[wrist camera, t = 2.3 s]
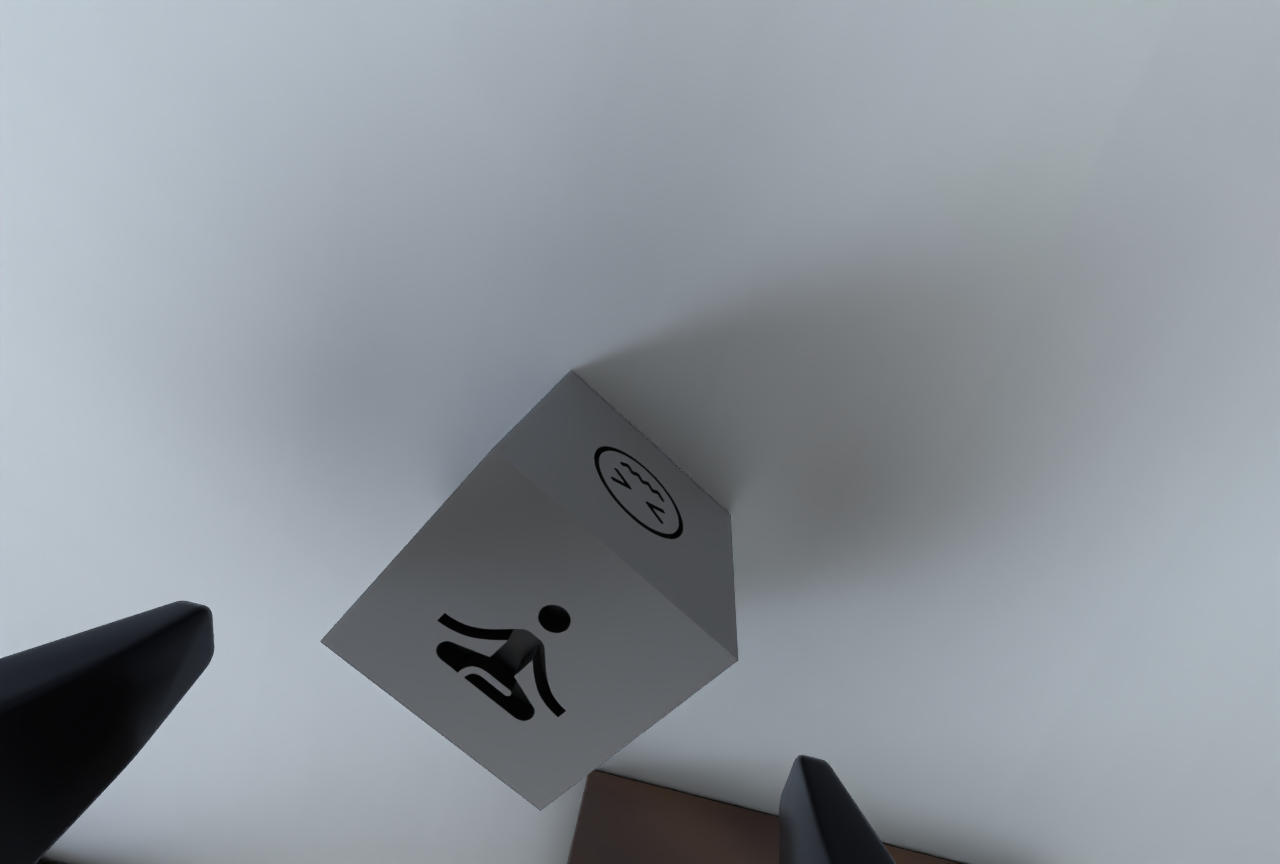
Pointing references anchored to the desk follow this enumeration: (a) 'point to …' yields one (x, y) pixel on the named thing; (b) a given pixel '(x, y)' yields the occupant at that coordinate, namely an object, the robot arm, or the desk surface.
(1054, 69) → the desk surface
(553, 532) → the dice cube
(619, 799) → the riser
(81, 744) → the robot arm
